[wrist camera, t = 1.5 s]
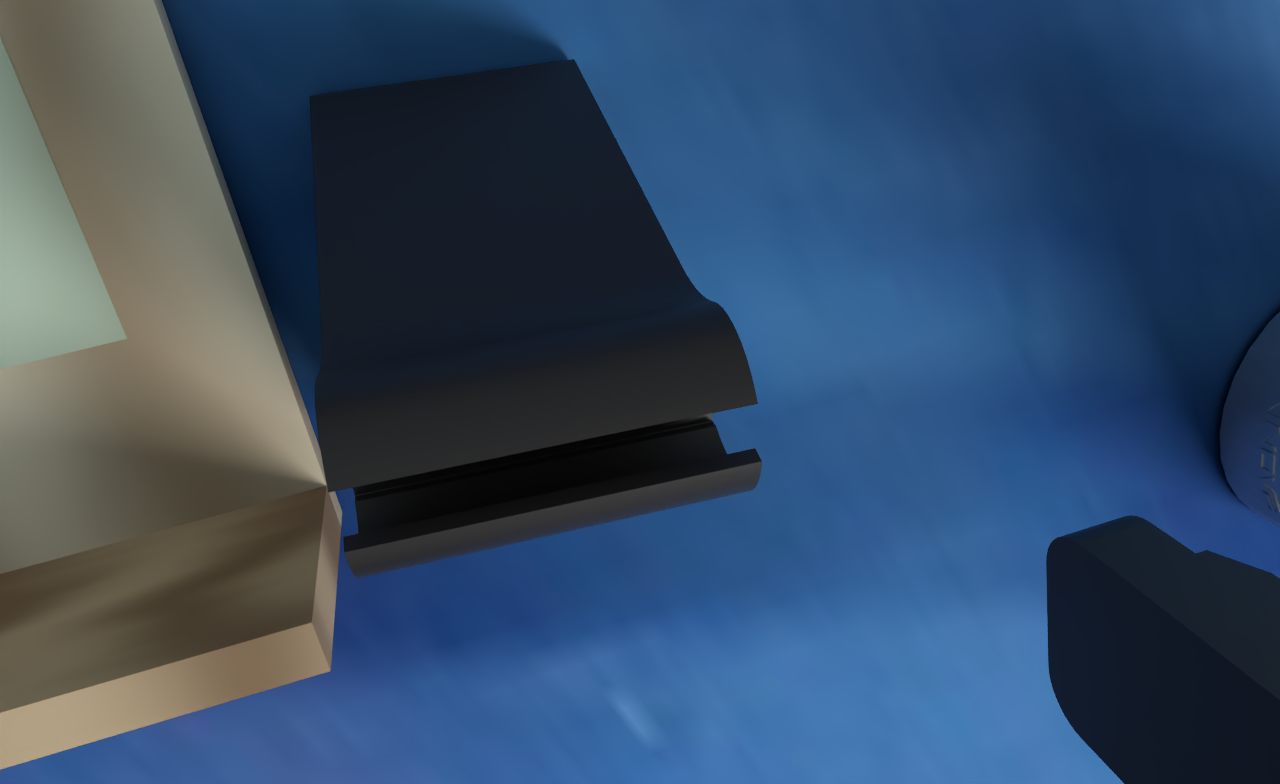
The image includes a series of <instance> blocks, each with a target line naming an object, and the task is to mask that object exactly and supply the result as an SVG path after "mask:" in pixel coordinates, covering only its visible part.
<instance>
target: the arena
mask: <svg viewBox="0 0 1280 784" xmlns="http://www.w3.org/2000/svg"><path fill="white" fill-rule="evenodd" d="M341 520H342V510H341V507H340V504H339V501H338V499H337V496H336V493H335V491H334V492H329V493H328V489H327V484H326V479H325V474H324V468H323V463H322V457H321V450H320V448H319V445H318V442H317V439H316V436H315V433H314V431H313V428H312V425H311V422H310V419H309V416H308V414H307V411H306V408H305V405H304V402H303V399H302V397H301V394H300V391H299V388H298V385H297V382H296V380H295V377H294V374H293V371H292V368H291V365H290V363H289V360H288V357H287V354H286V351H285V348H284V346H283V343H282V340H281V337H280V334H279V331H278V329H277V326H276V323H275V320H274V317H273V314H272V312H271V309H270V306H269V303H268V300H267V297H266V295H265V292H264V289H263V286H262V283H261V280H260V278H259V275H258V272H257V269H256V266H255V263H254V261H253V258H252V255H251V252H250V249H249V246H248V244H247V241H246V238H245V235H244V232H243V229H242V227H241V224H240V221H239V218H238V215H237V212H236V210H235V207H234V204H233V201H232V198H231V195H230V193H229V190H228V187H227V184H226V181H225V178H224V176H223V173H222V170H221V167H220V164H219V161H218V159H217V156H216V153H215V150H214V147H213V144H212V142H211V139H210V136H209V133H208V130H207V127H206V125H205V122H204V119H203V116H202V113H201V110H200V108H199V105H198V102H197V99H196V96H195V93H194V91H193V88H192V85H191V82H190V79H189V76H188V74H187V71H186V68H185V65H184V62H183V59H182V57H181V54H180V51H179V48H178V45H177V42H176V40H175V37H174V34H173V31H172V28H171V25H170V23H169V20H168V17H167V14H166V11H165V8H164V6H163V3H162V0H0V769H3V768H7V767H10V766H13V765H17V764H20V763H24V762H27V761H30V760H34V759H37V758H40V757H44V756H47V755H50V754H54V753H57V752H60V751H64V750H67V749H70V748H74V747H77V746H81V745H84V744H87V743H91V742H94V741H97V740H101V739H104V738H107V737H111V736H114V735H117V734H121V733H124V732H128V731H131V730H134V729H138V728H141V727H144V726H148V725H151V724H154V723H158V722H161V721H164V720H168V719H171V718H175V717H178V716H181V715H185V714H188V713H191V712H195V711H198V710H201V709H205V708H208V707H211V706H215V705H218V704H222V703H225V702H228V701H232V700H235V699H238V698H242V697H245V696H248V695H252V694H255V693H258V692H262V691H265V690H269V689H272V688H275V687H279V686H282V685H285V684H289V683H292V682H295V681H299V680H302V679H305V678H309V677H312V676H316V675H319V674H322V673H326V672H329V671H331V658H332V644H333V630H334V617H335V603H336V589H337V575H338V562H339V548H340V534H341Z"/></svg>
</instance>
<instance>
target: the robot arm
mask: <svg viewBox="0 0 1280 784" xmlns="http://www.w3.org/2000/svg"><path fill="white" fill-rule="evenodd" d="M1220 454H1221V462H1222V465H1223V468H1224V472H1225V475H1226V479H1227V482H1228V483H1229V485H1230V486H1231V488H1232V489H1233V491H1234V493H1235V494H1236V496H1237V497H1238V499H1239V500H1240V501H1242V502H1243V503H1244V504H1245V505H1246V506H1248V507H1249V508H1250V509H1251V510H1253V511H1254V512H1255V513H1257V514H1259V515H1260V516H1262V517H1264V518H1265V519H1267V520H1269V521H1270V522H1272V523H1274V524H1276V525H1277V526H1279V527H1280V312H1279V313H1278V314H1277V315H1276V316H1275V317H1274V318H1273V319H1272V320H1271V321H1270V322H1269V323H1268V324H1267V326H1266V327H1265V328H1264V330H1263V331H1262V332H1261V334H1260V335H1259V336H1258V338H1257V339H1256V340H1255V342H1254V343H1253V344H1252V346H1251V347H1250V348H1249V350H1248V352H1247V354H1246V356H1245V358H1244V359H1243V361H1242V363H1241V365H1240V367H1239V369H1238V371H1237V373H1236V374H1235V376H1234V379H1233V382H1232V384H1231V387H1230V390H1229V393H1228V396H1227V399H1226V402H1225V405H1224V409H1223V415H1222V422H1221V428H1220ZM1046 566H1047V614H1048V662H1049V674H1050V679H1051V683H1052V687H1053V690H1054V693H1055V696H1056V698H1057V701H1058V703H1059V705H1060V707H1061V709H1062V711H1063V713H1064V715H1065V717H1066V718H1067V720H1068V721H1069V723H1070V725H1071V726H1072V727H1073V729H1074V730H1075V731H1076V733H1077V734H1078V735H1079V736H1080V737H1081V738H1082V739H1083V740H1084V742H1085V743H1086V744H1087V745H1088V746H1089V747H1090V748H1091V749H1092V750H1093V751H1094V752H1095V753H1096V754H1097V755H1098V756H1099V757H1100V758H1101V759H1102V761H1103V762H1104V763H1105V764H1106V765H1107V766H1108V767H1109V768H1110V769H1111V770H1112V771H1113V772H1114V773H1115V774H1116V775H1117V776H1118V777H1119V778H1120V780H1121V781H1122V782H1123V783H1124V784H1280V578H1278V577H1277V576H1275V575H1274V574H1272V573H1269V572H1267V571H1264V570H1261V569H1258V568H1255V567H1252V566H1250V565H1247V564H1244V563H1241V562H1238V561H1236V560H1233V559H1230V558H1227V557H1224V556H1221V555H1219V554H1216V553H1213V552H1210V551H1207V550H1206V551H1203V552H1200V553H1197V554H1196V553H1194V552H1193V551H1191V550H1190V549H1188V548H1187V547H1185V546H1184V545H1182V544H1181V543H1179V542H1178V541H1176V540H1175V539H1174V538H1172V537H1171V536H1169V535H1168V534H1166V533H1165V532H1163V531H1162V530H1160V529H1159V528H1157V527H1156V526H1155V525H1153V524H1152V523H1150V522H1148V521H1147V520H1145V519H1143V518H1140V517H1138V516H1131V515H1130V516H1125V517H1122V518H1118V519H1115V520H1112V521H1109V522H1106V523H1103V524H1099V525H1096V526H1093V527H1090V528H1087V529H1084V530H1080V531H1077V532H1074V533H1071V534H1068V535H1064V536H1061V537H1058V538H1056V539H1055V540H1053V541H1052V543H1051V544H1050V546H1049V548H1048V552H1047V561H1046Z"/></svg>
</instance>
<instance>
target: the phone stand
mask: <svg viewBox="0 0 1280 784" xmlns="http://www.w3.org/2000/svg"><path fill="white" fill-rule="evenodd" d="M310 113H311V133H312V152H313V171H314V190H315V209H316V228H317V247H318V266H319V285H320V304H321V324H322V363H321V369H320V372H319V374H318V376H317V378H316V383H315V408H316V420H317V429H318V437H319V444H320V450H321V457H322V463H323V468H324V474H325V479H326V484H327V489H328V493H329V492H334V491H339V490H343V489H348V488H353V490H354V493H355V505H356V512H357V521H358V533H359V534H356V535H351V536H346V537H344V553H345V556H346V558H347V561H348V563H349V566H350V568H351V570H352V572H353V573H354V575H355V576H356V577H357V578H361V577H365V576H370V575H374V574H379V573H383V572H388V571H392V570H397V569H401V568H405V567H410V566H414V565H419V564H423V563H428V562H432V561H437V560H441V559H446V558H450V557H455V556H459V555H464V554H468V553H473V552H477V551H482V550H486V549H491V548H495V547H500V546H504V545H509V544H513V543H518V542H522V541H527V540H531V539H536V538H540V537H544V536H549V535H553V534H558V533H562V532H567V531H571V530H576V529H580V528H585V527H589V526H594V525H598V524H603V523H607V522H612V521H616V520H621V519H625V518H630V517H634V516H639V515H643V514H648V513H652V512H657V511H661V510H666V509H670V508H675V507H679V506H684V505H688V504H692V503H697V502H701V501H706V500H710V499H715V498H719V497H724V496H728V495H733V494H737V493H742V492H746V491H751V490H753V489H754V488H755V487H756V485H757V483H758V481H759V477H760V472H761V465H762V461H761V459H760V457H759V455H758V453H757V451H756V449H750V450H746V451H741V452H736V453H732V454H727V453H726V451H725V449H724V447H723V444H722V442H721V439H720V437H719V434H718V431H717V428H716V425H715V424H714V423H713V421H712V413H715V412H720V411H725V410H729V409H734V408H739V407H744V406H749V405H754V404H758V403H757V398H756V393H755V388H754V384H753V380H752V376H751V372H750V368H749V365H748V361H747V358H746V355H745V352H744V349H743V346H742V344H741V341H740V339H739V336H738V334H737V332H736V329H735V327H734V325H733V323H732V321H731V320H730V318H729V316H728V315H727V313H726V312H725V311H724V309H723V308H722V307H721V306H720V305H719V304H717V303H716V302H713V301H710V300H708V299H706V298H705V297H704V296H703V295H702V294H700V293H699V291H698V290H697V289H696V288H695V287H694V285H693V284H692V283H691V281H690V280H689V278H688V276H687V275H686V273H685V271H684V269H683V268H682V266H681V264H680V262H679V260H678V258H677V256H676V254H675V252H674V250H673V248H672V246H671V245H670V243H669V241H668V239H667V237H666V235H665V233H664V231H663V229H662V227H661V225H660V223H659V222H658V220H657V218H656V216H655V214H654V212H653V210H652V208H651V206H650V204H649V202H648V200H647V199H646V197H645V195H644V193H643V191H642V189H641V187H640V185H639V183H638V181H637V179H636V177H635V175H634V174H633V172H632V170H631V168H630V166H629V164H628V162H627V160H626V158H625V156H624V154H623V152H622V151H621V149H620V147H619V145H618V143H617V141H616V139H615V137H614V135H613V133H612V131H611V129H610V128H609V126H608V124H607V122H606V120H605V118H604V116H603V114H602V112H601V110H600V108H599V106H598V105H597V103H596V101H595V99H594V97H593V95H592V93H591V91H590V89H589V87H588V85H587V83H586V81H585V80H584V78H583V76H582V74H581V72H580V70H579V68H578V66H577V64H576V62H575V60H574V59H573V60H566V61H558V62H551V63H544V64H537V65H530V66H522V67H515V68H508V69H501V70H494V71H486V72H479V73H472V74H465V75H458V76H450V77H443V78H436V79H429V80H422V81H414V82H407V83H400V84H393V85H386V86H378V87H371V88H364V89H357V90H350V91H342V92H335V93H328V94H321V95H314V96H310Z"/></svg>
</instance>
